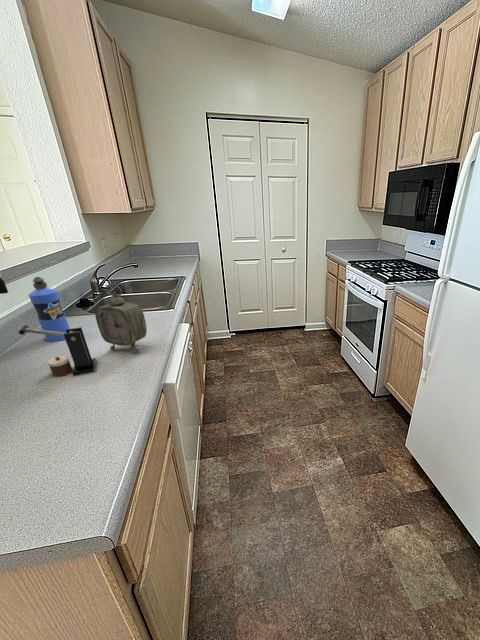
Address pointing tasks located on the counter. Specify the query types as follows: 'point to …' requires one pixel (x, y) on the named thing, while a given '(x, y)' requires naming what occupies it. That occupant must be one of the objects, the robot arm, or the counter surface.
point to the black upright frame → (79, 351)
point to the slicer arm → (40, 331)
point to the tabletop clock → (121, 321)
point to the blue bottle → (48, 309)
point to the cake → (60, 366)
